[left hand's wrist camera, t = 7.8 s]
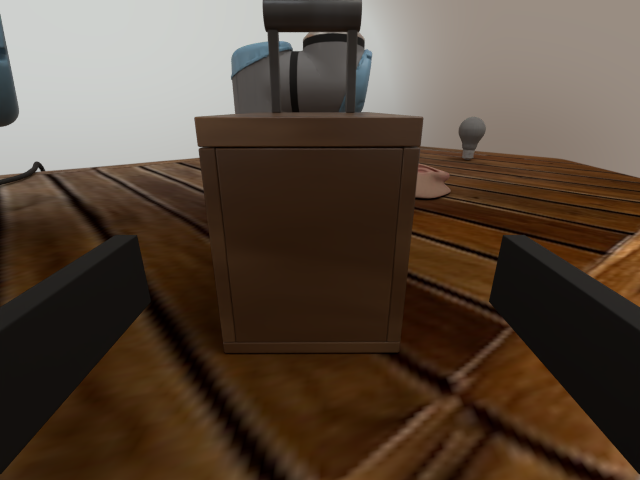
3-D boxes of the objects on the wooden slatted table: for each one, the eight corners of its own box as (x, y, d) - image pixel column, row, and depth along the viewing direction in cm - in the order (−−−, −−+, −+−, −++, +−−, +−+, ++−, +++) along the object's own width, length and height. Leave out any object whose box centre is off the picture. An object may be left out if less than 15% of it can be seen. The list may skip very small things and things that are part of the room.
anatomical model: (454, 172, 46) (370, 167, 49) (450, 200, 47) (368, 194, 51) (454, 159, 57) (385, 156, 61) (450, 182, 59) (384, 178, 62)
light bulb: (458, 161, 82) (465, 117, 79) (451, 157, 88) (457, 116, 84) (484, 161, 82) (491, 117, 78) (475, 157, 87) (482, 116, 84)
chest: (265, 245, 32) (258, 128, 29) (363, 245, 32) (369, 128, 29) (223, 353, 18) (197, 148, 14) (399, 353, 18) (420, 147, 14)
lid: (259, 127, 29) (251, 8, 26) (368, 127, 29) (374, 8, 26) (197, 147, 14) (163, -124, 11) (420, 146, 14) (448, -123, 11)
